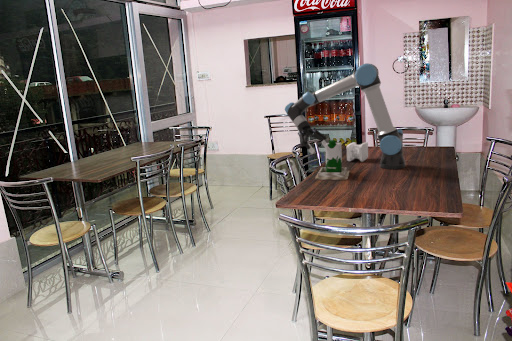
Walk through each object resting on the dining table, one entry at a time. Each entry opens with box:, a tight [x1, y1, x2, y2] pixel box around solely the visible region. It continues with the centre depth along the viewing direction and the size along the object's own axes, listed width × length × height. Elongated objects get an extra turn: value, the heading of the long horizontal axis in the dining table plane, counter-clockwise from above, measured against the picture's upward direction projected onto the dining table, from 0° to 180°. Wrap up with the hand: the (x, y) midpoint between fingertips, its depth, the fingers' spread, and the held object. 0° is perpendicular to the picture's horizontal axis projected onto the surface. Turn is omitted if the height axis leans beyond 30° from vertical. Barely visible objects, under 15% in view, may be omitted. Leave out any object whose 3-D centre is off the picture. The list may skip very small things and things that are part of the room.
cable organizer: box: [346, 141, 369, 163], centre depth 290 cm, size 15×11×12 cm
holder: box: [314, 166, 350, 181], centre depth 252 cm, size 18×18×4 cm
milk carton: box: [324, 139, 343, 173], centre depth 250 cm, size 9×9×20 cm
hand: (321, 151), depth 255 cm, fingers open, 13 cm apart
